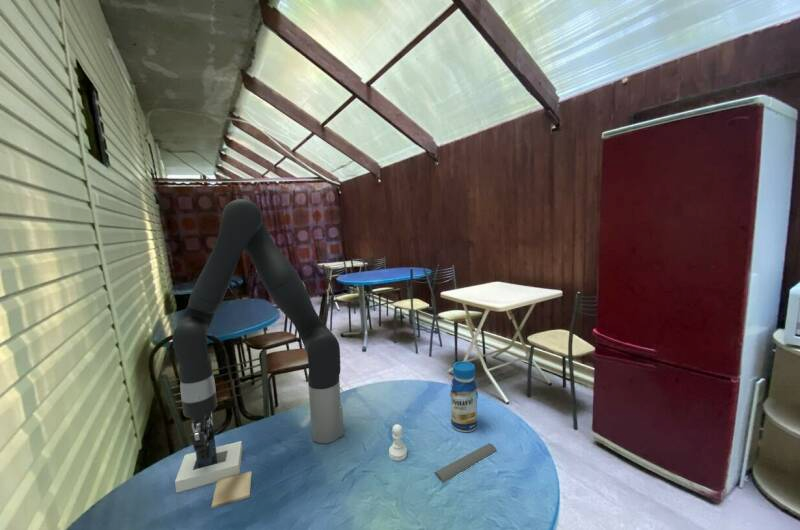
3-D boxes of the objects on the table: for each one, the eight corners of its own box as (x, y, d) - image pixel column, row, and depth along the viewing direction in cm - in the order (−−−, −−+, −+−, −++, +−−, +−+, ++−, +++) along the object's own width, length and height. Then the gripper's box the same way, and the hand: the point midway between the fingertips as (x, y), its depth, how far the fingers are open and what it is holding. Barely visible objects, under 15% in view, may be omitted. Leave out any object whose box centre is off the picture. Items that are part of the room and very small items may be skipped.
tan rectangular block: (251, 473, 85) (251, 471, 85) (249, 497, 78) (249, 494, 78) (217, 482, 82) (217, 480, 82) (211, 508, 75) (211, 506, 75)
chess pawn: (405, 462, 87) (404, 432, 86) (387, 460, 88) (386, 430, 87) (408, 449, 92) (407, 420, 91) (391, 447, 93) (390, 418, 92)
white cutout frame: (242, 450, 94) (241, 440, 93) (239, 475, 84) (238, 464, 84) (186, 464, 89) (185, 454, 88) (176, 492, 80) (174, 482, 79)
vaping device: (212, 471, 84) (207, 428, 83) (195, 468, 85) (190, 426, 84) (220, 463, 87) (215, 422, 85) (203, 461, 88) (198, 420, 86)
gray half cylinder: (498, 454, 90) (498, 449, 90) (443, 486, 80) (443, 479, 80) (486, 446, 94) (487, 440, 93) (433, 474, 84) (432, 468, 83)
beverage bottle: (481, 421, 104) (481, 363, 101) (472, 436, 97) (472, 374, 94) (456, 413, 108) (456, 357, 106) (446, 427, 101) (445, 367, 98)
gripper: (210, 404, 78) (218, 468, 80) (219, 378, 91) (225, 433, 93) (173, 411, 75) (182, 477, 78) (188, 383, 88) (195, 440, 91)
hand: (206, 453), depth 86 cm, fingers closed on vaping device, 3 cm apart
